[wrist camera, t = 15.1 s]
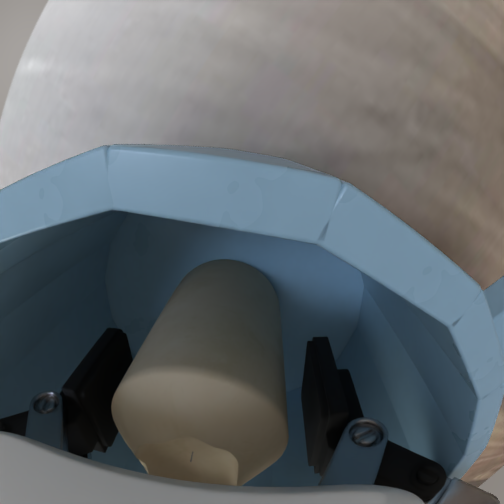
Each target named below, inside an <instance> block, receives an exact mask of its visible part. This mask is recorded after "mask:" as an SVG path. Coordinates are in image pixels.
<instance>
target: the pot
mask: <svg viewBox="0 0 504 504" xmlns="http://www.w3.org/2000/svg"><path fill="white" fill-rule="evenodd" d="M220 259H229V260H236V261H239V262H243V263H245V264H248V265H250V266H252V267H254V268H255V269H257V270H258V271H260V272H261V273H262V274H263V275H264V276H265V277H266V278H267V279H268V280H269V282H270V283H271V285H272V286H273V288H274V290H275V292H276V294H277V297H278V301H279V307H280V316H281V328H282V342H283V355H284V369H285V384H286V400H287V416H288V434H289V438H288V444H287V447H286V449H285V451H284V453H283V454H282V456H281V457H280V458H279V459H278V460H277V461H276V462H274V463H273V464H272V465H270V466H269V467H268V468H266V469H265V470H264V471H262V472H261V473H259V474H258V475H256V476H255V477H254V478H252V479H251V480H249V481H248V482H246V483H245V484H243V485H242V486H253V487H302V486H318V484H319V482H320V480H321V478H322V477H321V476H320V474H319V473H316V474H314V466H309V465H308V458H307V448H306V438H305V429H304V420H303V411H302V402H301V390H302V382H303V374H304V365H305V356H306V347H307V341H312V338H313V337H328V339H329V342H330V346H331V349H332V352H333V356H334V359H335V363H336V366H337V369H348V370H349V372H350V375H351V378H352V381H353V384H354V387H355V390H356V393H357V396H358V399H359V402H360V406H361V409H362V412H363V415H364V417H368V418H373V419H376V420H379V421H380V422H382V423H383V424H384V425H385V427H386V428H387V430H388V440H389V441H391V442H393V443H396V444H398V445H400V446H402V447H404V448H406V449H408V450H410V451H413V452H415V453H417V454H419V455H421V456H424V457H426V458H428V459H430V460H433V461H435V462H437V463H438V464H440V465H441V466H442V467H443V468H444V470H445V472H446V477H448V478H450V479H453V478H454V477H456V478H458V479H461V478H462V476H463V475H464V474H465V473H466V472H467V471H468V469H469V468H470V467H471V466H472V464H473V463H474V462H475V461H476V459H477V458H478V457H479V456H480V454H481V453H482V452H483V450H484V449H485V448H486V445H487V444H488V441H489V439H490V436H491V433H492V431H493V428H494V425H495V422H496V419H497V416H498V413H499V409H500V406H501V403H502V399H503V395H504V276H502V277H501V278H500V279H499V280H497V281H496V282H495V283H493V284H492V285H491V286H489V287H488V288H486V289H485V290H484V291H483V290H482V289H481V287H480V285H479V284H478V283H477V282H476V281H475V280H474V279H472V278H471V277H470V276H469V275H468V274H467V273H466V272H465V271H463V270H462V269H461V268H460V267H459V266H458V265H457V264H455V263H454V262H453V261H452V260H451V259H450V258H448V257H447V256H446V255H445V254H444V253H442V252H441V251H440V250H439V249H438V248H436V247H435V246H434V245H433V244H432V243H430V242H429V241H428V240H427V239H425V238H424V237H423V236H422V235H420V234H419V233H418V232H416V231H415V230H414V229H413V228H411V227H410V226H409V225H407V224H406V223H405V222H403V221H402V220H401V219H399V218H398V217H397V216H395V215H394V214H393V213H391V212H390V211H389V210H387V209H386V208H385V207H383V206H382V205H380V204H379V203H378V202H376V201H375V200H373V199H372V198H371V197H369V196H368V195H366V194H365V193H363V192H362V191H361V190H359V189H358V188H356V187H355V186H353V185H352V184H350V183H348V182H346V181H343V180H341V179H338V178H337V177H334V176H331V175H329V174H326V173H324V172H321V171H318V170H315V169H313V168H310V167H307V166H304V165H301V164H299V163H296V162H293V161H290V160H287V159H284V158H280V157H274V156H269V155H263V154H258V153H252V152H246V151H239V150H233V149H226V148H214V147H199V146H180V145H152V144H114V145H104V146H101V147H98V148H95V149H92V150H90V151H87V152H84V153H82V154H79V155H77V156H74V157H71V158H69V159H66V160H64V161H62V162H59V163H57V164H54V165H52V166H50V167H47V168H45V169H43V170H41V171H38V172H36V173H34V174H32V175H30V176H27V177H25V178H23V179H21V180H19V181H17V182H15V183H13V184H11V185H9V186H7V187H5V188H3V189H1V190H0V419H1V418H5V417H8V416H12V415H15V414H18V413H22V412H25V411H28V410H29V406H30V402H31V400H32V399H33V397H34V396H36V395H37V394H38V393H41V392H43V391H55V392H57V393H60V392H61V391H62V389H61V388H62V386H63V385H64V384H65V382H66V381H67V380H68V378H69V377H70V376H71V374H72V373H73V372H74V370H75V369H76V368H77V366H78V365H79V364H80V362H81V361H82V360H83V358H84V357H85V356H86V355H87V353H88V352H89V351H90V349H91V348H92V347H93V346H94V344H95V343H96V342H97V340H98V339H99V338H100V337H101V335H102V334H103V333H104V332H105V330H106V329H107V328H118V329H122V331H123V333H126V335H127V338H128V342H129V346H130V350H131V354H132V358H133V360H134V358H135V356H136V355H137V353H138V351H139V349H140V348H141V346H142V344H143V342H144V341H145V339H146V337H147V336H148V334H149V332H150V331H151V329H152V327H153V326H154V324H155V322H156V320H157V319H158V317H159V315H160V314H161V312H162V311H163V309H164V307H165V306H166V304H167V302H168V301H169V299H170V297H171V296H172V294H173V292H174V291H175V289H176V288H177V286H178V285H179V283H180V282H181V280H182V279H183V278H184V277H185V276H186V275H187V274H188V273H189V272H190V271H191V270H193V269H194V268H195V267H197V266H199V265H201V264H203V263H206V262H209V261H213V260H220ZM91 455H92V460H93V461H97V462H100V463H104V464H107V465H111V466H115V467H119V468H123V469H127V470H131V471H135V472H140V473H145V474H148V473H147V471H146V470H145V468H144V466H143V465H142V464H141V462H140V461H139V460H138V459H137V458H136V456H135V455H134V453H133V452H132V450H131V449H130V448H129V447H128V445H127V444H126V442H125V441H124V439H123V438H122V436H121V434H120V432H118V434H117V436H116V438H115V440H114V443H113V445H112V446H111V447H108V448H107V450H106V453H103V452H99V451H96V450H93V452H91Z"/></svg>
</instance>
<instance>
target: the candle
mask: <svg viewBox="0 0 504 504" xmlns="http://www.w3.org/2000/svg"><path fill="white" fill-rule="evenodd" d="M111 410H112V416H113V420H114V422H115V424H116V427H117V429H118V431H119V432H120V434H121V436H122V438H123V439H124V441H125V442H126V444H127V445H128V447H129V448H130V449H131V450H132V452H133V453H134V455H135V456H136V458H137V459H138V460H139V461H140V462H141V464H142V465H143V466H144V468H145V470H146V471H147V473H148V474H150V475H155V476H160V477H166V478H171V479H178V480H185V481H192V482H200V483H209V484H220V485H233V486H242V485H243V484H245V483H246V482H248V481H249V480H251V479H252V478H254V477H255V476H256V475H258V474H259V473H261V472H262V471H264V470H265V469H266V468H268V467H269V466H270V465H272V464H273V463H274V462H276V461H277V460H278V459H279V458H280V457H281V456H282V454H283V453H284V451H285V449H286V447H287V444H288V438H289V434H288V416H287V400H286V384H285V369H284V355H283V342H282V328H281V316H280V307H279V301H278V297H277V294H276V292H275V290H274V288H273V286H272V285H271V283H270V282H269V280H268V279H267V278H266V277H265V276H264V275H263V274H262V273H261V272H260V271H258V270H257V269H255V268H254V267H252V266H250V265H248V264H245V263H243V262H239V261H236V260H229V259H220V260H213V261H209V262H206V263H203V264H201V265H199V266H197V267H195V268H194V269H193V270H191V271H190V272H189V273H188V274H187V275H186V276H185V277H184V278H183V279H182V280H181V282H180V283H179V285H178V286H177V288H176V289H175V291H174V292H173V294H172V296H171V297H170V299H169V301H168V302H167V304H166V306H165V307H164V309H163V311H162V312H161V314H160V315H159V317H158V319H157V320H156V322H155V324H154V326H153V327H152V329H151V331H150V332H149V334H148V336H147V337H146V339H145V341H144V342H143V344H142V346H141V348H140V349H139V351H138V353H137V355H136V356H135V358H134V360H133V361H132V363H131V365H130V367H129V368H128V370H127V372H126V374H125V376H124V377H123V379H122V381H121V383H120V384H119V386H118V388H117V390H116V392H115V394H114V396H113V399H112V404H111Z"/></svg>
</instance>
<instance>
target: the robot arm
mask: <svg viewBox="0 0 504 504" xmlns="http://www.w3.org/2000/svg"><path fill="white" fill-rule="evenodd" d="M132 361H133V358H132V354H131V350H130V346H129V342H128V338H127V335H126V333H123V331H122V329H118V328H107V329H106V330H105V332H104V333H103V334H102V335H101V337H100V338H99V339H98V340H97V342H96V343H95V344H94V346H93V347H92V348H91V349H90V351H89V352H88V353H87V355H86V356H85V357H84V358H83V360H82V361H81V362H80V364H79V365H78V366H77V368H76V369H75V370H74V372H73V373H72V374H71V376H70V377H69V378H68V380H67V381H66V382H65V384H64V385H63V386H62V388H61V389H62V391H61V392H60V393H57V392H55V391H43V392H41V393H38V394H37V395H36V396H34V397H33V399H32V400H31V402H30V406H29V410H28V411H25V412H22V413H18V414H15V415H12V416H8V417H5V418H1V419H0V504H500V502H499V500H498V498H497V497H496V496H494V495H493V494H491V493H488V492H486V491H484V490H481V489H479V488H477V487H475V486H473V485H471V484H468V483H466V482H464V481H462V480H460V479H458V478H456V477H454V478H453V479H450V478H448V477H446V472H445V470H444V468H443V467H442V466H441V465H440V464H438V463H437V462H435V461H433V460H430V459H428V458H426V457H424V456H421V455H419V454H417V453H415V452H413V451H410V450H408V449H406V448H404V447H402V446H400V445H398V444H396V443H393V442H391V441H389V440H388V430H387V428H386V427H385V425H384V424H383V423H382V422H380V421H379V420H376V419H373V418H368V417H364V415H363V412H362V409H361V406H360V402H359V399H358V396H357V393H356V390H355V387H354V384H353V381H352V378H351V375H350V372H349V370H348V369H337V366H336V363H335V359H334V356H333V352H332V349H331V346H330V342H329V339H328V337H313V338H312V341H307V347H306V356H305V365H304V374H303V382H302V390H301V402H302V411H303V420H304V429H305V438H306V448H307V458H308V465H309V466H314V474H316V473H319V474H320V476H321V477H322V478H321V480H320V482H319V484H318V486H302V487H253V486H233V485H220V484H209V483H200V482H192V481H185V480H178V479H171V478H166V477H160V476H155V475H150V474H145V473H140V472H135V471H131V470H127V469H123V468H119V467H115V466H111V465H107V464H104V463H100V462H97V461H93V460H92V455H91V452H93V450H96V451H99V452H103V453H106V450H107V448H108V447H111V446H112V445H113V443H114V440H115V438H116V436H117V434H118V432H119V431H118V429H117V427H116V424H115V422H114V420H113V416H112V410H111V404H112V399H113V396H114V394H115V392H116V390H117V388H118V386H119V384H120V383H121V381H122V379H123V377H124V376H125V374H126V372H127V370H128V368H129V367H130V365H131V363H132Z"/></svg>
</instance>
